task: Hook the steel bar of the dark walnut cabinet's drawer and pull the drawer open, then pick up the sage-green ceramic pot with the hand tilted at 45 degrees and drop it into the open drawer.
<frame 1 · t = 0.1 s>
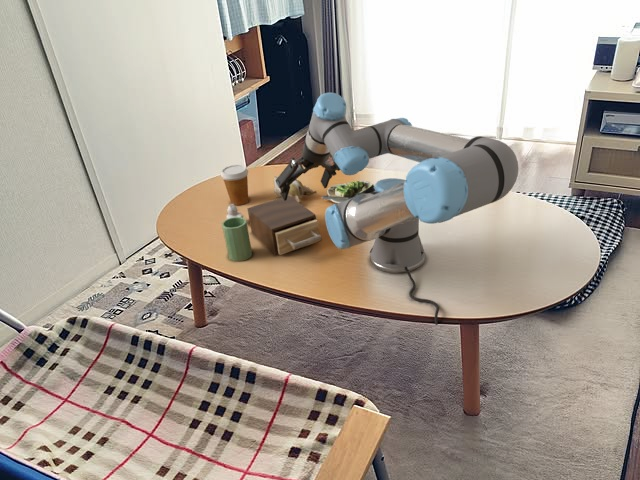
hand: (303, 190, 167), 15 cm above the table, tool tilted 35°, fingers open, 13 cm apart
cabinet: (284, 236, 177), on the table
disposable coffee cup: (239, 202, 202), on the table
drawer: (290, 231, 170), point 4 cm above the table, slide at 1.0 cm
white animal figurine: (236, 224, 187), on the table
pot: (240, 255, 170), on the table
avocado toast plate: (353, 196, 197), on the table
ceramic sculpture: (293, 199, 199), on the table
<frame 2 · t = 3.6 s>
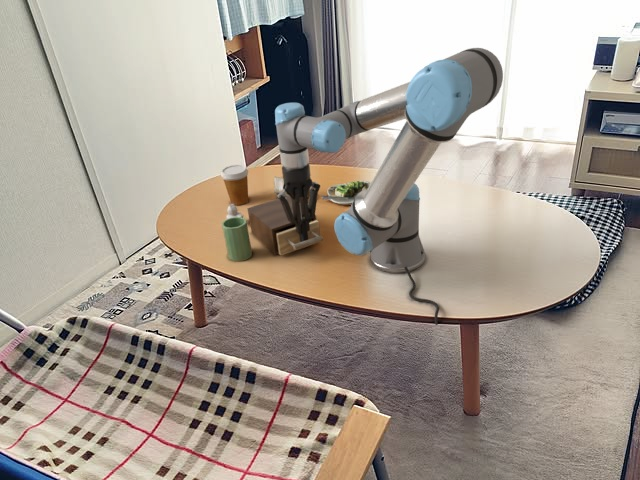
hand: (304, 241, 164), 5 cm above the table, tool pointing down, fingers closed
drawer: (291, 231, 170), point 4 cm above the table, slide at 1.5 cm
everything else where it was.
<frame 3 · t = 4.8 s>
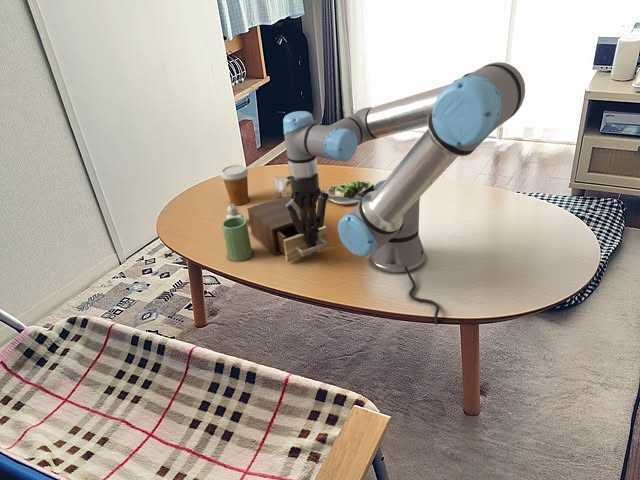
hand: (312, 251, 161), 3 cm above the table, tool pointing down, fingers closed
drawer: (298, 237, 167), point 4 cm above the table, slide at 6.1 cm, touching gripper
everything else where it was.
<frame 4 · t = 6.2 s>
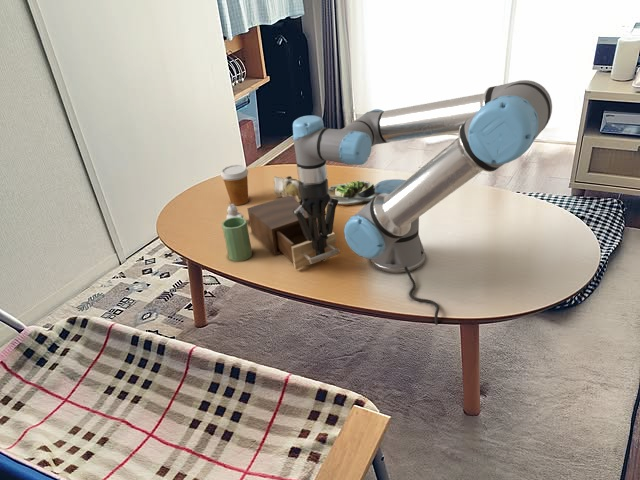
hand: (320, 258, 158), 3 cm above the table, tool pointing down, fingers closed
drawer: (306, 244, 163), point 4 cm above the table, slide at 11.2 cm, touching gripper
everything else where it was.
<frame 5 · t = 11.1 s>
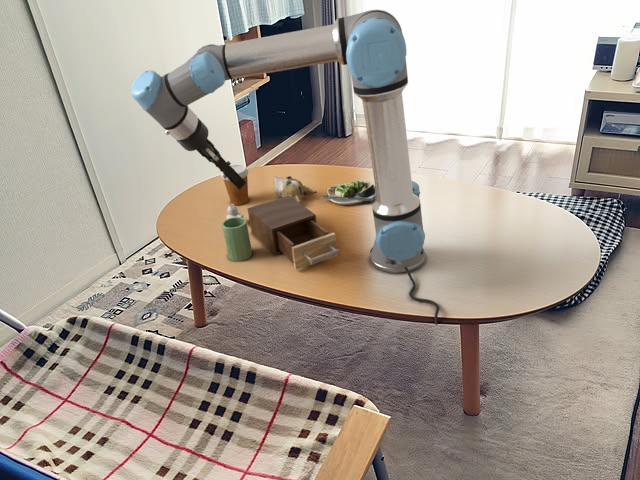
hand: (241, 184, 152), 24 cm above the table, tool tilted 35°, fingers closed
drawer: (307, 244, 163), point 4 cm above the table, slide at 11.4 cm
everything else where it was.
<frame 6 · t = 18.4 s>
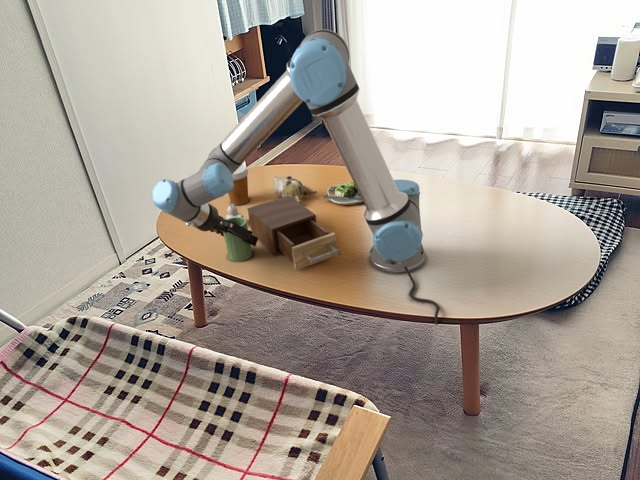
hand: (245, 239, 170), 4 cm above the table, tool tilted 45°, fingers closed on pot, 7 cm apart
pot: (240, 255, 170), on the table, touching gripper
everything else where it was.
when the fingers open (10 cm above the table, at t = 26.1 s): pot drops 4 cm, resting on drawer.
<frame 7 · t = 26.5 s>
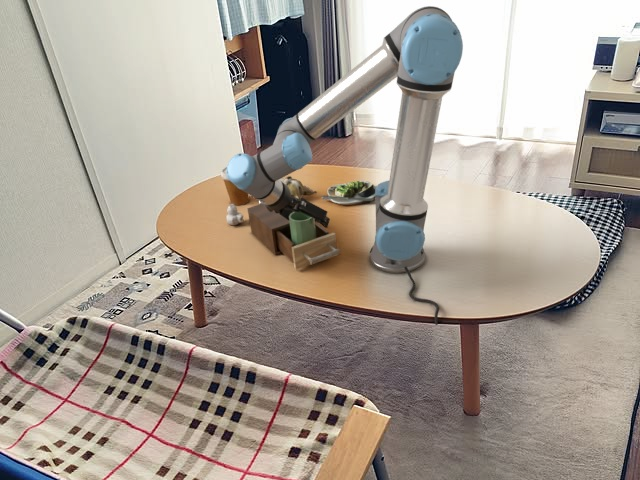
hand: (309, 220, 162), 10 cm above the table, tool tilted 45°, fingers open, 11 cm apart
drawer: (307, 244, 163), point 4 cm above the table, slide at 11.4 cm, touching pot
pot: (305, 249, 165), point 2 cm above the table, touching drawer
everything else where it was.
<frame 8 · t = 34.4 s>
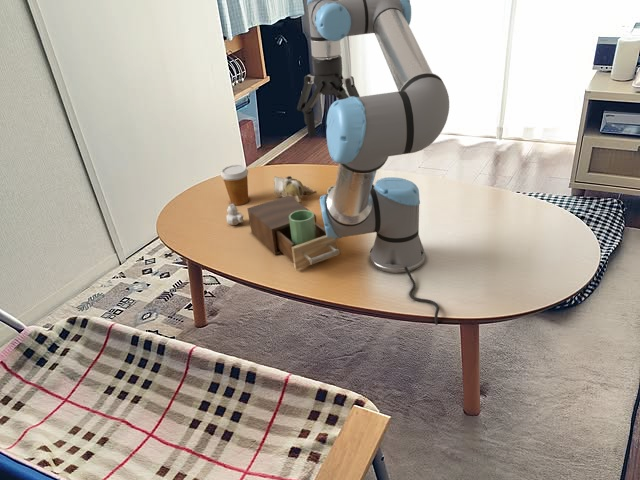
hand: (332, 138, 156), 31 cm above the table, tool pointing down, fingers open, 13 cm apart
nothing on the table moved.
at the end: drawer slide at 11.4 cm; pot inside the target area in the drawer (0.4 cm from its centre), point 2.1 cm above the cabinet's base; pot touching drawer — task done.
